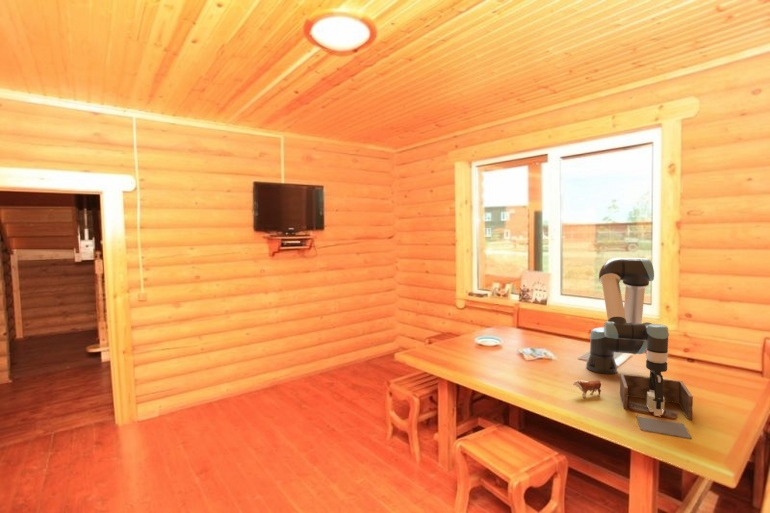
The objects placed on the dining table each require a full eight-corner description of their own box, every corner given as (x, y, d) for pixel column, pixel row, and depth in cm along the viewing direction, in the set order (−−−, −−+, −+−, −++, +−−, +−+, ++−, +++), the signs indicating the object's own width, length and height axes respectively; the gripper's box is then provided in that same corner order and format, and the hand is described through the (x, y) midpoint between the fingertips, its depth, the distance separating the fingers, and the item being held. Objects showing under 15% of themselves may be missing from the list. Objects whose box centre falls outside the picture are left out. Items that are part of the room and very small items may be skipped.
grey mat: (641, 430, 153) (641, 429, 153) (636, 416, 164) (636, 416, 164) (691, 439, 146) (691, 438, 146) (683, 424, 157) (683, 423, 157)
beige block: (648, 412, 168) (649, 396, 167) (646, 406, 173) (647, 391, 172) (664, 414, 166) (664, 398, 165) (661, 409, 170) (662, 393, 170)
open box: (624, 409, 171) (624, 387, 170) (619, 393, 187) (620, 373, 186) (692, 420, 160) (692, 396, 159) (681, 402, 176) (682, 381, 175)
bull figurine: (571, 394, 187) (571, 378, 186) (598, 393, 188) (598, 376, 187) (576, 398, 182) (577, 381, 182) (603, 397, 183) (604, 380, 183)
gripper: (673, 370, 156) (671, 423, 157) (661, 353, 176) (660, 401, 178) (651, 367, 159) (649, 420, 160) (642, 351, 180) (640, 398, 181)
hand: (655, 410), depth 169 cm, fingers open, 11 cm apart
